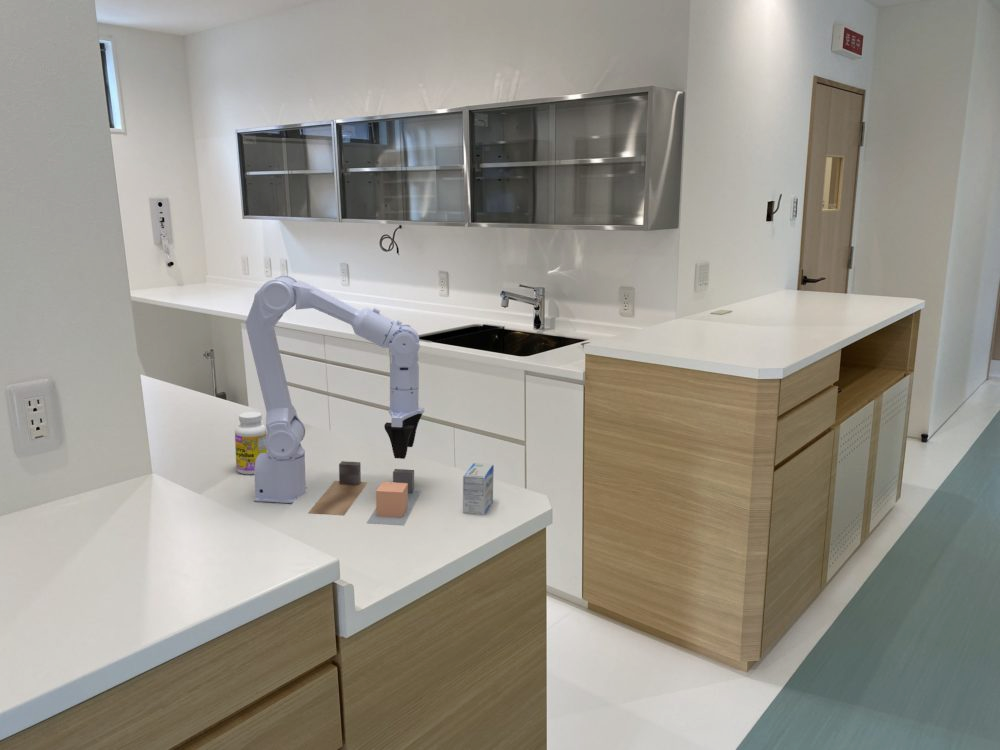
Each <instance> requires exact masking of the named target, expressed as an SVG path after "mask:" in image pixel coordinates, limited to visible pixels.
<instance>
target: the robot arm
mask: <svg viewBox="0 0 1000 750" xmlns="http://www.w3.org/2000/svg"><path fill="white" fill-rule="evenodd" d="M253 297H254V298H253V303H252V304H251V308H250V310H249V313H248V315H247V318H246V321H245V328H246V332H247V337H248V340H249V345H250V349H251V353H252V357H253V358H252V359H253V361H254V366H255V370H256V373H257V378H258V383H259V385H260V391H261V394H262V395H261V396H262V397H263V402H264V408H265V411H266V413H265V414H266V417H265V427H266V430H267V437H266V440H265V446H266V449H267V453H260V454H259V455H258V457H257V459H256V462H255V469H254V474H253V475H254V493H255V494H254V496H255V497H254V499H253V501H254V502H263V503H264V502H265V503H266V502H267V503H282V504H283V503H284V504H294V503H295V502H296V500H297V499H298V498H299V497H302V496H303V495H305V493H307V492H306V489H307V488H308V487H306V484H307V483H306V453H305V452H306V450H305V449H304V447H303V446H302V444H301V442H302V441H303V440H304V438H305V435H306V428H305V427H306V426H305V425H304V423H303V422H302V420H301V419H300V418H299V417H298V413H297V409H296V408H295V406H294V405H293V403H292V399H291V396H290V391H289V386H288V383H287V378H286V374H285V369H284V365H283V360H282V356H281V353H280V347H279V343H278V339H277V334H276V331H275V330H276V329H275V327H276V325H277V324H278V323H279V321H280V319H282V317H283V315H284V314H285V313H286V312H287V311H289V310H291V309H292V308H293V307H295V310H296V311H297V310H306V309H314V310H316V311H319V312H321V313H323V314H325V315H328V316H330V317H333V318H335V319H337V320H339V321H341V322H344V323H346V324H348V325H350V326H351V327H352V330H353V332H354V333H353V334H355V335H356V336H358V337H361V338H362V339H365V340H367V341H369V342H371V343H373V344H375V345H377V346H379V347H381V348H383V349H385V348H386V349H387V348H388V349H389V352H390V353H391V357H390V360H391V362H390V364H389V406H388V413H389V415H390V417H391V422H385V424H384V430H385V432H386V433H387V436H388V438H389V440H390V445H391V448H392V449H391V450H392V454H393V457H394V459H401V460H402V459H403V460H405V459H406V457H407V454H408V448H413V446H414V443H415V438H416V433H417V429H418V425H419V422H420V420H421V419H422V416H423V414H424V413H425V408H424V407H420V406H419V399H420V398H419V396H420V395H419V392H420V391H419V387H420V383H419V382H420V381H419V380H420V379H419V378H420V377H419V376H420V374H419V373H420V371H419V370H420V365H419V363H418V362H419V354H418V352H419V350H420V347H421V345H420V336H419V334H418V332H417V330H415V329H414V328H413V326H411V325H409V324H403V321H401V320H398V319H397V320H396V321H395V320H394V319H391V318H389V317H388V316H385V315H384V314H381V310H380V309H378V308H376V307H373V309H371V308H369V307H366V308H362V309H357V308H355V307H353V306H351V305H349V304H347V303H346V302H344V301H342V300H340V299H338V298H336V297H335V296H332V295H331V294H329V293H328V292H326V291H324V290H321V289H320V288H318V287H316V286H314V285H311V284H309V283H308V282H305V281H301V280H298V281H297V280H296V279H295V278H294V277H292V276H288V275H279V276H278V277H275V278H273V279H270V280H268V281H267V282H265V283H264V284H263V285H262V286H261V287H260V288H259V289H258V290H257V291H256V293H254V296H253Z"/></svg>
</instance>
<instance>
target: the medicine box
mask: <svg viewBox="0 0 1000 750" xmlns="http://www.w3.org/2000/svg"><path fill="white" fill-rule="evenodd" d="M494 469H495V468H494V464H489V463H480V462H479V463H478V462H477V463H472V465H470V467H469V469H467V471H466V472H465V473H464V475H463V477H462V514H466V515H475V516H476V515H477V516H486V514H487V513H488V512H489V511H488V510H490V507H491V506H492V504H493V502H494V471H495V470H494Z"/></svg>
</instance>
